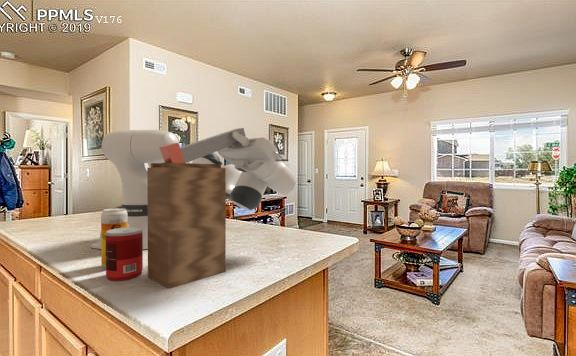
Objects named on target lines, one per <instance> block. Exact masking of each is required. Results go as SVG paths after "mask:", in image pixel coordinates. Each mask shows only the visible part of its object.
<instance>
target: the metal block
mask: <svg viewBox="0 0 576 356" xmlns="http://www.w3.org/2000/svg"><path fill="white" fill-rule="evenodd" d="M232 132H238V133H239V134H240V135H242V136H245V137H247V136H246V132H245V128H244V127H240V128H234V129H231V130H228V131H225V132H222V134H221V133H218V134H216V135H213V136H209V137H206V138H204V139H201V140H199V141H194V142H192V143H189V144H188V143H187V144H186V145H182V146H180V142H179V143H171V144H168V145H164V146H161V147H159V148H160V151H161V154H162V156H163V159H164V162H165V163H187V162H189V163H190V162H193V160H195V159H198V158H201V157H203V156H206V155H209V154H211V153H216V152H217V151H219V150H222V149H224V148H227V147H230V146H232V145H235V144H238V143H240V142H238V141H236V140H235V141H234V140H233V139H232V138H231V137H230V135H231V133H232ZM217 153H218V152H217Z"/></svg>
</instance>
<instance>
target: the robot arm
mask: <svg viewBox="0 0 576 356" xmlns="http://www.w3.org/2000/svg"><path fill="white" fill-rule="evenodd" d="M222 133H223V132H222ZM222 133H220V134H222ZM230 137H231V138H232V139H233V140H234V141H235V140H236V141H238V142H240V143H238V144H235V145H232V146H230V147H227V148H224V149H222V150H219V151H217V153H216V152H214V153H211V154H209V155H206V156H203V157H201V158H198V159H195V160H193V161H191V163H192V164H221V168H226V199H228V200H229V201H230V202H232V203H234V204H235V205H236V206H237V207H238V208H241V209H243V210H247V211H248V210H249V211H252V210H255V209H257V208H259V207H260V205H261V201H262V199H263V196H264V194H265V191H266V190H267V187H268V188H270V189H271V190H273V191H275V192H276V193H278V194H280V195H284V196H286V195H288V194H290V193H291V192H292V191H293V190H294V188H295V186H296V183H297V178H296V175H295V174H294V172H293V171H292V170H291V169H290V167H288V166H287V165H286V163H284V162H282V160H283V156H282V155H281V154H280V153H279V150H278V149H277V146H275V144H274V143H273V142H271V140H270V139H268V138H266V137H264V136H263V137H254V138H253V137H252V138H248V137H247V136H246V137H245V136H242V135H240V134H239V133H238V132H232V133H231V135H230ZM171 143H179V144H180V142H179V140H178V138H177V136H176V134H174V133H173V132H171V131H166V130H161V129H122V130H115V131H112V132H108V133H107V134H105V135H104V136H103V138H102V141H101V151H102V154H103V155H104V156H105V158H106V159H108V160H109V161H110V162H111V163H112V164H113V165H114V166H115V168H116V170H117V172H118V174H119V177H120V180H121V191H122V204H121V205H120V206H115V208H124V209H126V211H127V213H128V227H137V228H142V231H143V250H148V199H147V168H146V165H145V164H147V165H148V168H151V163H165V162H164V159H163V156H162V154H161V151H160V148H159V147H161V146H164V145H168V144H171ZM218 155H219V156H218ZM220 157H222V159H224V160H225V161H227V162H228V164H225V165H224V166H223V162H222V161H221V159H220ZM187 163H190V162H187ZM90 248H92V249H97V250H101V232H100V233H99V241H96V242H95V241H94V243H92V244H91V246H90Z"/></svg>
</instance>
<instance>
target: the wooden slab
mask: <svg viewBox="0 0 576 356" xmlns="http://www.w3.org/2000/svg"><path fill="white" fill-rule="evenodd" d="M221 167H222V165H221V164H192V162H191V163H190V162H189V163H151V168H150V167H147V168H146V170H147V199H148V249H147V278H148V279H150V280H152V281H153V282H155V283H157V284H160V285H161V286H163V287H165V288H167V289H172V288H174V287H178V286H181V285H185V284H189V283H192V282H196V281H199V280H202V279H206V278H208V277H211V276H215V275H220V274H222V273H225V272H226V271H227V270H226V267H227V266H226V262H227V261H226V257H227V255H226V250H227V249H226V247H227V244H226V238H227V237H226V232H227V231H226V227H227V226H226V222H227V221H226V210H227V209H226V208H227V206H226V199H227V198H226V168H221Z"/></svg>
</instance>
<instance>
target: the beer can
mask: <svg viewBox="0 0 576 356" xmlns="http://www.w3.org/2000/svg"><path fill="white" fill-rule="evenodd" d="M100 223H101V224H100V228H101V229H100V233H101V249H100V250H101V252H100V253H101V265H102V266H103V268H104V269H106V231H108V230H112V229H117V228H126V227H128V213H127V211H126V209H124V208H107V209H102V212H101V214H100Z"/></svg>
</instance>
